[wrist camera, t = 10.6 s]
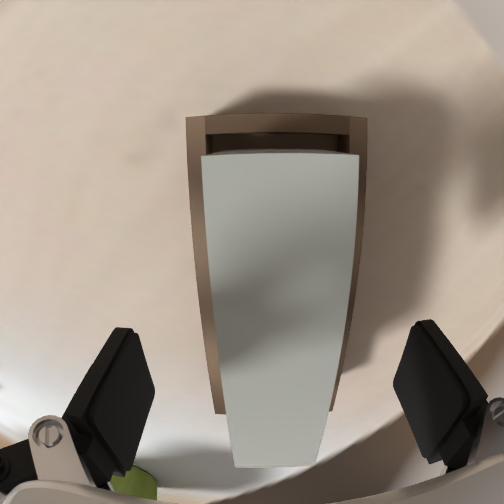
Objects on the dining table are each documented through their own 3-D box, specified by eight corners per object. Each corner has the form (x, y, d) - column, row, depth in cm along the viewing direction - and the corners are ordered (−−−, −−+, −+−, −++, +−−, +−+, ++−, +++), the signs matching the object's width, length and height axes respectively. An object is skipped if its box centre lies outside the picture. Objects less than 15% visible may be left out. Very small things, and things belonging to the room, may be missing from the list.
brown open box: (199, 121, 14) (185, 117, 11) (347, 121, 14) (367, 118, 11) (219, 383, 20) (215, 413, 17) (325, 380, 20) (332, 411, 17)
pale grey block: (228, 149, 14) (201, 156, 7) (312, 148, 14) (359, 155, 7) (241, 377, 19) (234, 467, 12) (302, 376, 19) (314, 464, 12)
